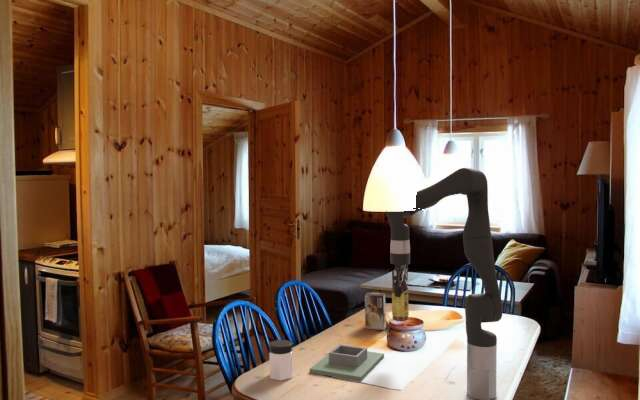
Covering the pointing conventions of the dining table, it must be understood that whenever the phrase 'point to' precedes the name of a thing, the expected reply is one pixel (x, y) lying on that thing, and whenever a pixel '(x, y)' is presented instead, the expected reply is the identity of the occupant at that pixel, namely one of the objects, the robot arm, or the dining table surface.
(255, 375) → the dining table surface
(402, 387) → the dining table surface
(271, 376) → the jar
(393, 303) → the sauce bottle
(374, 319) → the coffee box
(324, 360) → the deck plate
